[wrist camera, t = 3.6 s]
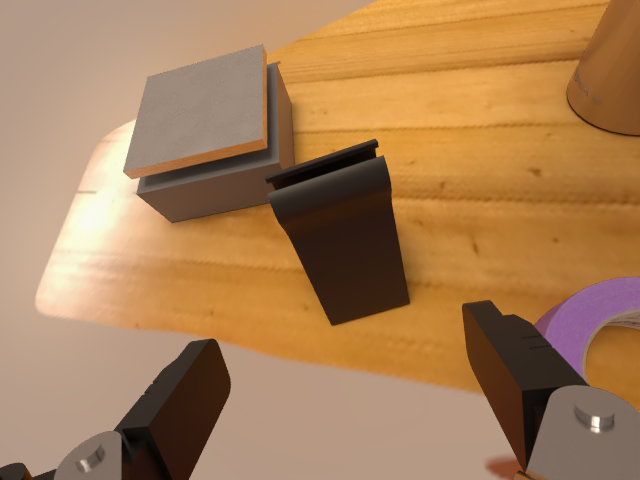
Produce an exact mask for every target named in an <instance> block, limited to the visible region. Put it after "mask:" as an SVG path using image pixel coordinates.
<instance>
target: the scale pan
mask: <svg viewBox="0 0 640 480" xmlns="http://www.w3.org/2000/svg"><path fill="white" fill-rule="evenodd" d="M265 148H267V54H266V51H265V49H264V46H263V45H258V46H255V47H251V48H248V49H245V50H241V51H238V52H234V53H230V54H227V55H224V56H220V57H217V58H213V59H209V60H206V61H202V62H199V63H195V64H192V65H188V66H185V67H181V68H178V69H174V70H171V71H167V72H164V73H160V74H157V75H153V76H150V77H148V78H147V82H146V85H145V89H144V93H143V97H142V101H141V105H140V109H139V112H138V116H137V120H136V124H135V128H134V131H133V135H132V139H131V143H130V147H129V151H128V154H127V158H126V162H125V166H124V170H123V172H124V173H125V174H126V175H127V176H128V177H130V178H131V179H136V178H140V177H144V176H149V175H153V174H157V173H162V172H166V171H170V170H174V169H179V168H183V167H187V166H192V165H196V164H200V163H205V162H209V161H213V160H218V159H222V158H226V157H231V156H235V155H239V154H244V153H248V152H252V151H257V150H261V149H265Z"/></svg>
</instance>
